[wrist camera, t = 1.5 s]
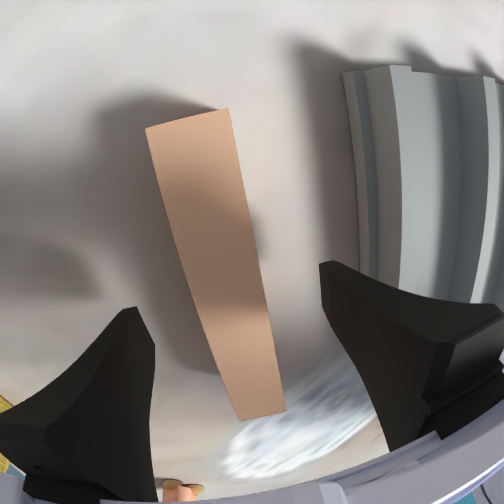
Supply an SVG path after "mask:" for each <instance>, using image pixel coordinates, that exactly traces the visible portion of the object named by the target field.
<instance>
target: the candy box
mask: <svg viewBox="0 0 504 504" xmlns="http://www.w3.org/2000/svg"><path fill="white" fill-rule="evenodd" d="M12 407H14V406H13V405H11V404H10V403H9V402H8V401H6V400H5V399H4V398H3V397H2V396H0V413H1V412H4V411H6V410H8V409H10V408H12ZM9 462H10V461H9V460H8V459H7V458H5V457H4V456H3V455H2V454H1V453H0V472H3V473H7V469H8V465H9Z"/></svg>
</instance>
